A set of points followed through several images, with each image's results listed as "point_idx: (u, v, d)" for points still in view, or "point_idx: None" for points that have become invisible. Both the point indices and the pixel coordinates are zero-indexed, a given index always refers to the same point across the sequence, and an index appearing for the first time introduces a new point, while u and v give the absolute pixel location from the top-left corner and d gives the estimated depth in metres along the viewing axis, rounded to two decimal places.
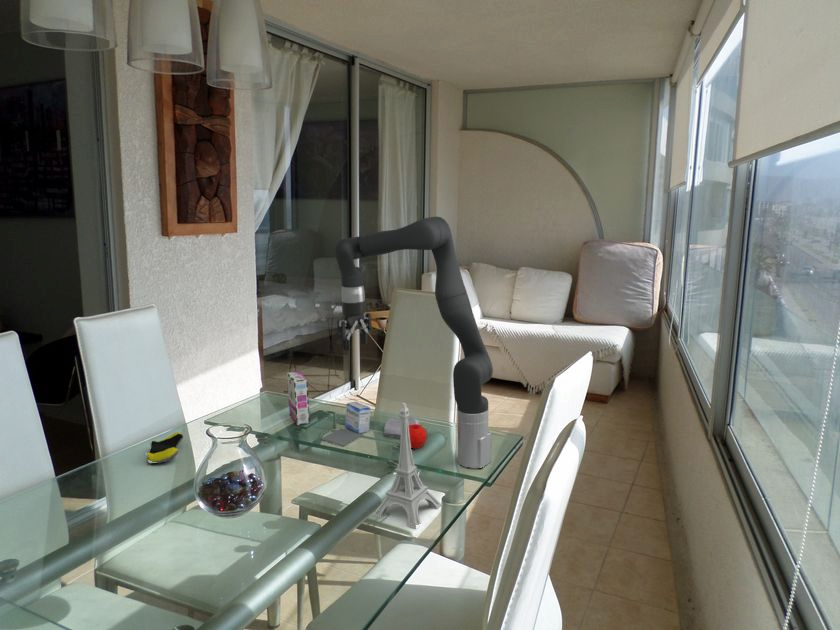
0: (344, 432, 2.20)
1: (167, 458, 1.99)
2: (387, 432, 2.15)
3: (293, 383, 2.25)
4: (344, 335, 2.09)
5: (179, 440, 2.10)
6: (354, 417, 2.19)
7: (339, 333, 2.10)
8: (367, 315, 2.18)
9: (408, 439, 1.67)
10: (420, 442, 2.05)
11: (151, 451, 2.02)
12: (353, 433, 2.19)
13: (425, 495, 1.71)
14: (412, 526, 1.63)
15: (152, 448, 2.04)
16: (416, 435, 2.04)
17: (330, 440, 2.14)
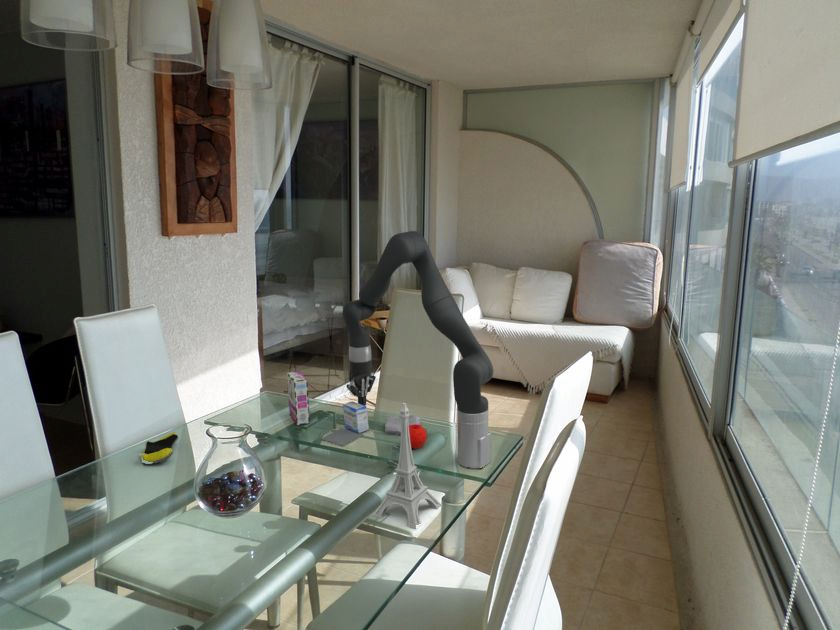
0: (344, 432, 2.20)
1: (162, 459, 1.99)
2: (388, 430, 2.17)
3: (293, 383, 2.25)
4: (359, 393, 2.20)
5: (174, 440, 2.10)
6: (352, 418, 2.19)
7: None
8: (372, 377, 2.25)
9: (408, 439, 1.67)
10: (420, 442, 2.05)
11: (146, 451, 2.02)
12: (353, 433, 2.19)
13: (425, 495, 1.71)
14: (412, 526, 1.63)
15: (147, 448, 2.04)
16: (416, 435, 2.04)
17: (330, 440, 2.14)
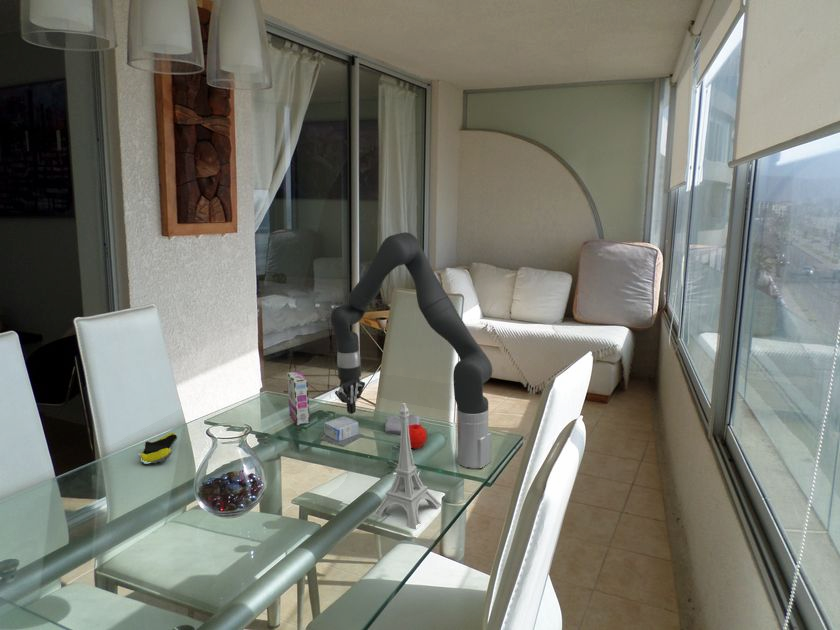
0: None
1: (160, 459, 1.98)
2: (389, 429, 2.18)
3: (293, 383, 2.25)
4: (348, 399, 2.15)
5: (173, 441, 2.10)
6: None
7: (342, 399, 2.16)
8: (362, 383, 2.21)
9: (408, 439, 1.67)
10: (420, 442, 2.05)
11: (145, 452, 2.02)
12: None
13: (425, 495, 1.71)
14: (412, 526, 1.63)
15: (146, 449, 2.04)
16: (416, 435, 2.04)
17: (330, 440, 2.14)
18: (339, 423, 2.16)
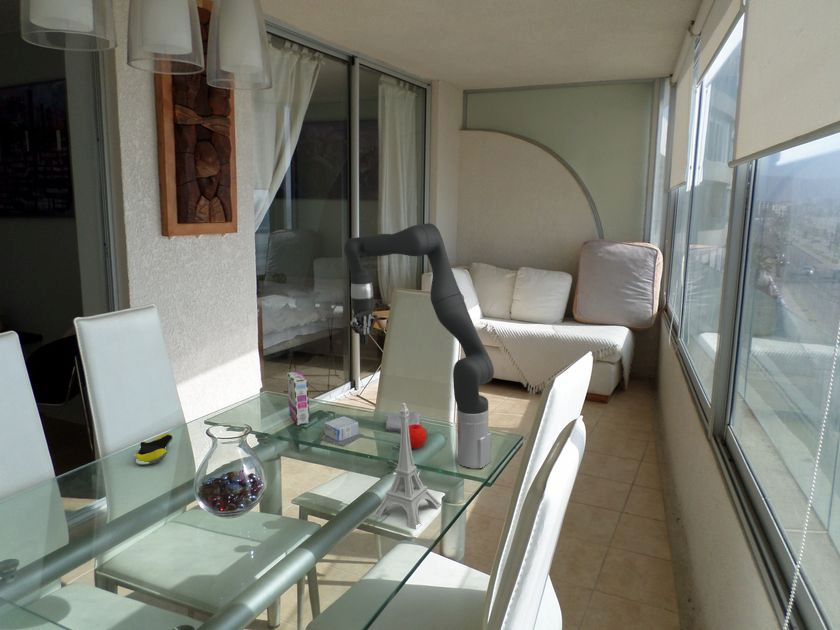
0: None
1: (156, 459, 1.98)
2: (390, 427, 2.20)
3: (293, 383, 2.25)
4: (361, 330, 2.23)
5: (168, 441, 2.10)
6: None
7: (355, 330, 2.24)
8: (374, 316, 2.29)
9: (408, 439, 1.67)
10: (420, 442, 2.05)
11: (140, 452, 2.02)
12: None
13: (425, 495, 1.71)
14: (412, 526, 1.63)
15: (141, 449, 2.03)
16: (416, 435, 2.04)
17: (330, 440, 2.14)
18: (339, 423, 2.16)
